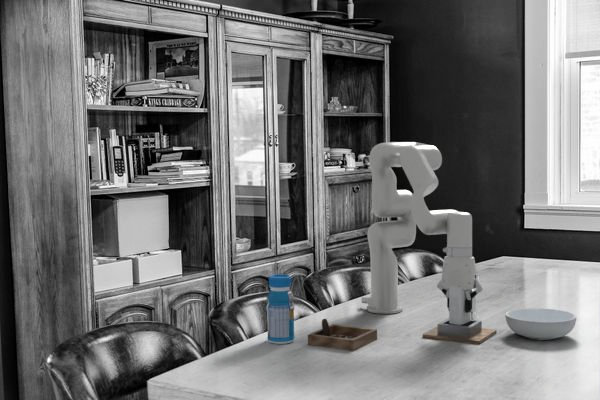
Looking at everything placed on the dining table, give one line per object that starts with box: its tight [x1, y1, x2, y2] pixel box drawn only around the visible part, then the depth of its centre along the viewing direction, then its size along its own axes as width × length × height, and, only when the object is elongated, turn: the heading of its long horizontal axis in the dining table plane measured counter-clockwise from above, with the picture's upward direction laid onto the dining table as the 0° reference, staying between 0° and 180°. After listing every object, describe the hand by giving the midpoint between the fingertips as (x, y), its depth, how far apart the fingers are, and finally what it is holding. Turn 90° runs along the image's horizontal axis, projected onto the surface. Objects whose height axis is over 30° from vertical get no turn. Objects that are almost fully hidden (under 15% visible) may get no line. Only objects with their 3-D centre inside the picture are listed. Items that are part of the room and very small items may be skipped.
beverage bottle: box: [266, 273, 295, 345], centre depth 249 cm, size 8×8×20 cm
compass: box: [321, 318, 350, 339], centre depth 249 cm, size 8×8×7 cm
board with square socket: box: [422, 317, 497, 345], centre depth 254 cm, size 18×16×4 cm
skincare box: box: [448, 286, 470, 325], centre depth 253 cm, size 6×4×12 cm
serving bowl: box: [504, 307, 577, 341], centre depth 251 cm, size 21×21×7 cm
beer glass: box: [470, 274, 480, 320], centre depth 274 cm, size 7×7×15 cm
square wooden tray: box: [307, 323, 378, 352], centre depth 248 cm, size 15×15×3 cm
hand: (459, 310), depth 253 cm, fingers closed on skincare box, 4 cm apart
